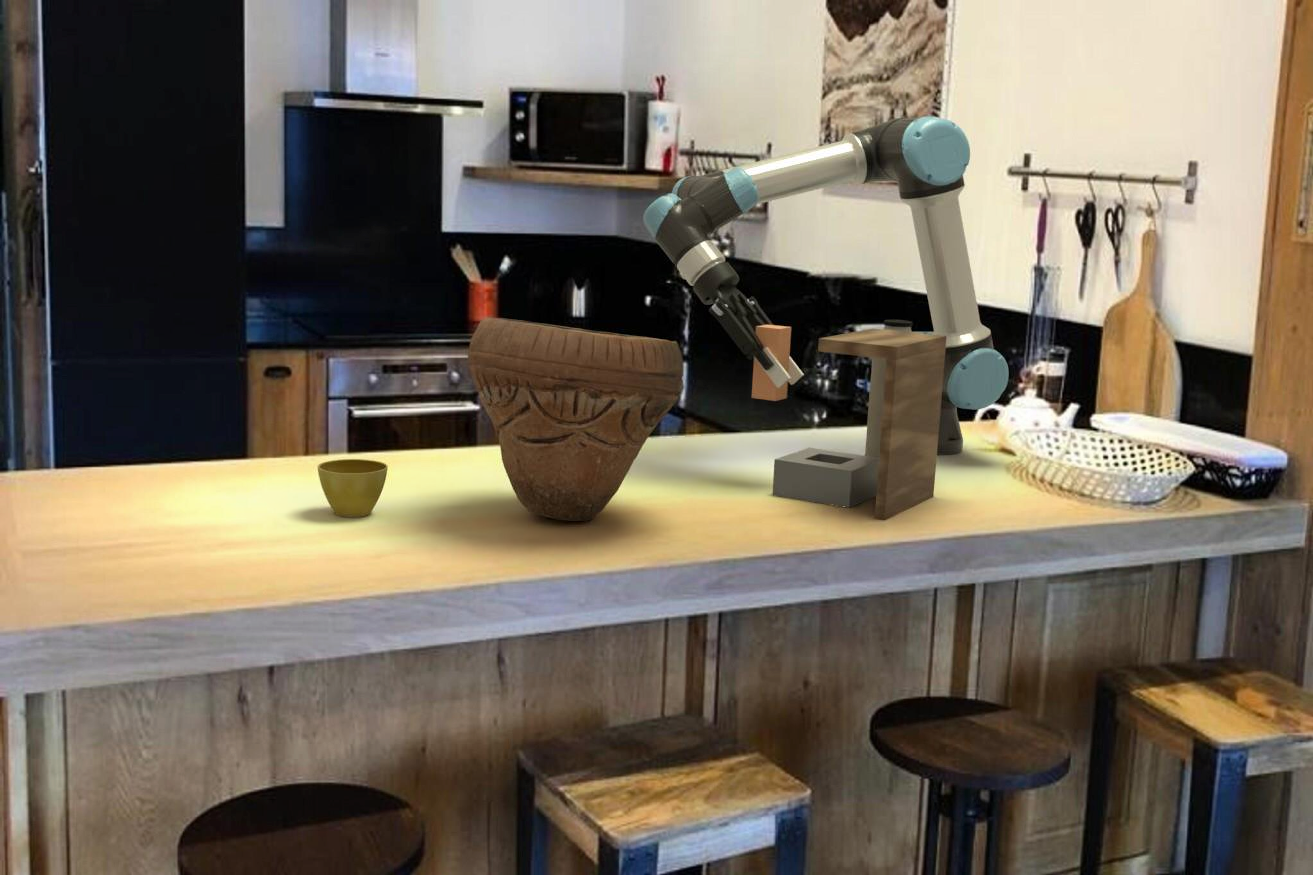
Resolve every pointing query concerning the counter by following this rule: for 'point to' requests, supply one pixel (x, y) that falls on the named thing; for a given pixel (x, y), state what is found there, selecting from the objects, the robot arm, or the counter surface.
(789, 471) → the socket
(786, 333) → the peg
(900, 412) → the wooden l-shaped bracket
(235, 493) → the counter surface
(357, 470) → the flower pot
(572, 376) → the pot
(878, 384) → the thermos bottle
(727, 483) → the counter surface
